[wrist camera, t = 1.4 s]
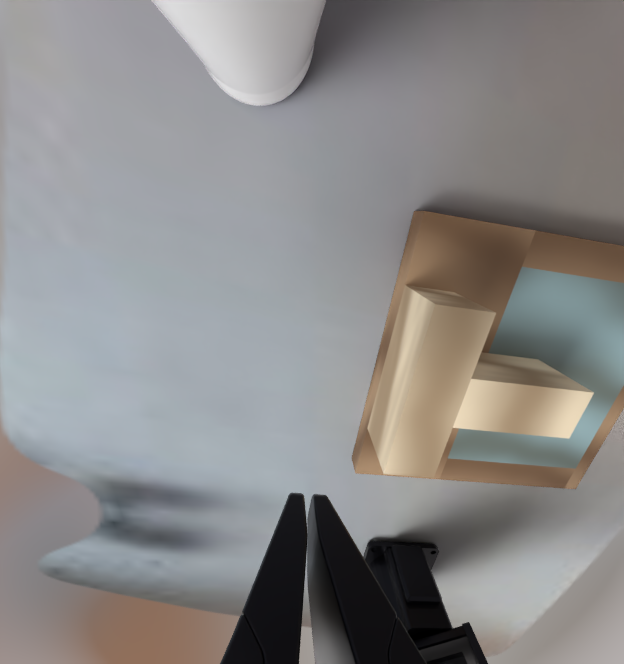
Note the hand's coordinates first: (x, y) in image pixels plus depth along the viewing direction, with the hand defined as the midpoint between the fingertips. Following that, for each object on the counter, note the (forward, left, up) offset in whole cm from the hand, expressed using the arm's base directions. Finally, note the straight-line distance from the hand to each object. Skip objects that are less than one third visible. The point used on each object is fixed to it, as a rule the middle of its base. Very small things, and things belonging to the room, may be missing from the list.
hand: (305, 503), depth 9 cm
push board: (0, -14, -12) cm, 19 cm away
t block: (0, -10, -10) cm, 15 cm away
